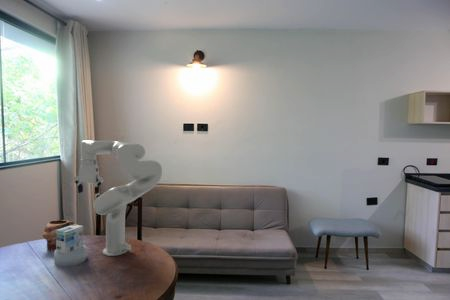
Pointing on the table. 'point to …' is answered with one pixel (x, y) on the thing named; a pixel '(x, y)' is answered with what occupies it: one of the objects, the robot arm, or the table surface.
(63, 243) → the light bulb box
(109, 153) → the robot arm
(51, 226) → the orange-brown clay pot
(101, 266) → the table surface
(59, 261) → the smooth grey ovoid
